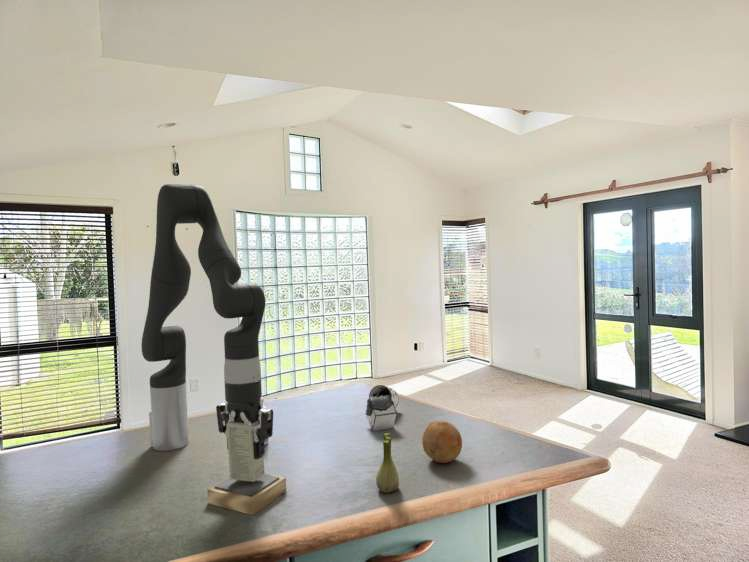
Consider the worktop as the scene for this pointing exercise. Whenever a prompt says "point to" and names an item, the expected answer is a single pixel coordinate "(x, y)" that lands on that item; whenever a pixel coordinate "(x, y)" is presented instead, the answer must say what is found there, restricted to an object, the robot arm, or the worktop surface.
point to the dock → (246, 493)
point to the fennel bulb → (387, 469)
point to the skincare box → (243, 452)
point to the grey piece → (382, 408)
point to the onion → (442, 441)
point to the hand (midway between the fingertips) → (245, 454)
